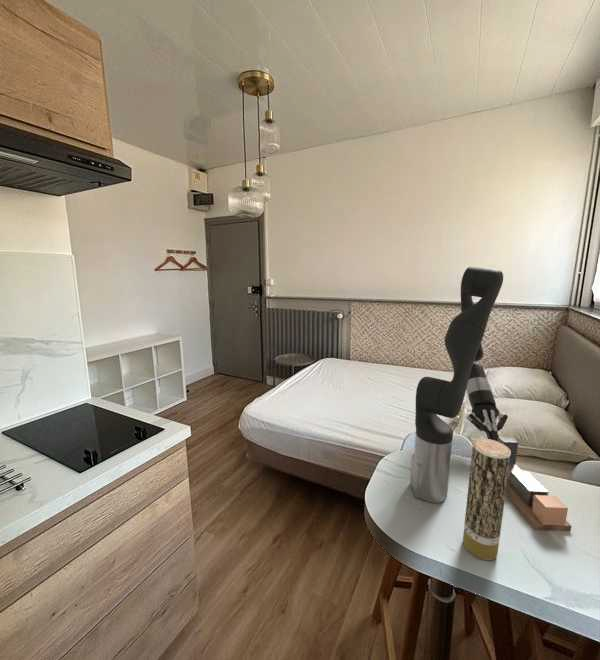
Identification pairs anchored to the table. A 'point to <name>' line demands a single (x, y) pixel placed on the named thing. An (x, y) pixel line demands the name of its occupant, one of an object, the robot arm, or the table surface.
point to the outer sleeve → (525, 485)
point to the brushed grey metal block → (514, 458)
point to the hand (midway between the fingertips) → (495, 444)
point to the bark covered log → (486, 497)
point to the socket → (549, 510)
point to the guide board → (529, 515)
